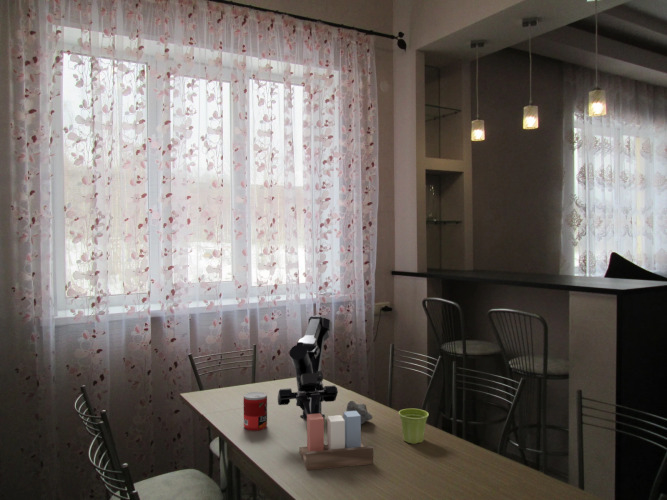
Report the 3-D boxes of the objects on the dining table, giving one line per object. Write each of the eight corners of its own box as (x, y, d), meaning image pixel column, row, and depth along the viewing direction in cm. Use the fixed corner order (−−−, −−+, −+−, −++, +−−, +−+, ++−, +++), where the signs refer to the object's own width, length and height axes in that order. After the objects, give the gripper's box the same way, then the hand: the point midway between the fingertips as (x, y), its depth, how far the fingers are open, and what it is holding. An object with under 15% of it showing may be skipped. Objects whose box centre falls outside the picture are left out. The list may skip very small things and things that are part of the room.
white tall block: (327, 450, 156) (327, 416, 156) (340, 449, 157) (340, 415, 157) (331, 456, 151) (330, 421, 151) (344, 455, 152) (344, 420, 152)
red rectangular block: (307, 448, 158) (307, 414, 158) (320, 446, 159) (320, 413, 159) (310, 454, 153) (309, 419, 153) (323, 453, 154) (323, 418, 154)
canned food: (263, 431, 177) (262, 398, 177) (240, 430, 179) (239, 397, 178) (270, 424, 185) (270, 392, 184) (248, 422, 186) (248, 391, 186)
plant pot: (430, 437, 172) (430, 410, 172) (426, 447, 163) (426, 419, 163) (401, 433, 175) (401, 407, 175) (395, 444, 166) (395, 416, 166)
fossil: (379, 425, 183) (379, 401, 183) (359, 430, 178) (358, 406, 178) (358, 416, 192) (358, 394, 192) (338, 421, 187) (338, 398, 187)
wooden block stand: (299, 452, 160) (299, 437, 160) (361, 446, 164) (361, 432, 164) (306, 470, 147) (306, 453, 147) (373, 463, 151) (373, 447, 151)
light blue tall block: (343, 444, 160) (343, 411, 160) (356, 443, 161) (356, 410, 161) (347, 451, 156) (347, 416, 155) (360, 450, 156) (360, 415, 156)
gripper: (278, 363, 168) (283, 409, 158) (336, 360, 173) (345, 404, 162) (275, 382, 176) (280, 427, 165) (330, 379, 180) (338, 422, 170)
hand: (311, 419), depth 165 cm, fingers closed
